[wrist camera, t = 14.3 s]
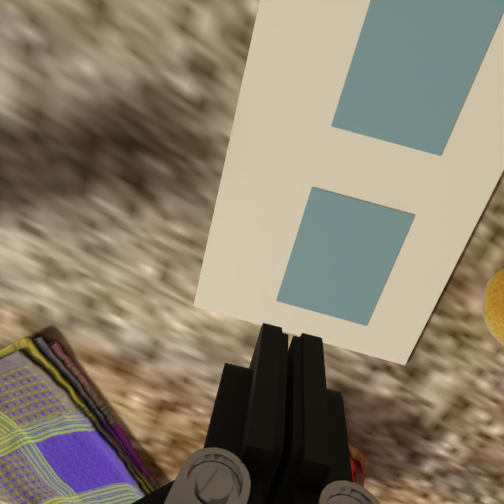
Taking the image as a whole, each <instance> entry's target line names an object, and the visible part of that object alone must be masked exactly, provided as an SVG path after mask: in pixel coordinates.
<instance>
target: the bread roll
mask: <svg viewBox="0 0 504 504" xmlns="http://www.w3.org/2000/svg"><path fill="white" fill-rule="evenodd" d="M483 314H484V321H485V324H486V326H487V328H488V330H489V331H490V333H491V334H492V335H493V336H494V337H495V338H496V339H497V340H498V341H499V342H500V343H501V344H502V345H503V346H504V267H503V268H502V269H500V270H499V271H497V272H496V273H495V274H494V275H492V276H491V277H490V278H489V280H488V281H487V284H486V287H485V291H484V299H483Z"/></svg>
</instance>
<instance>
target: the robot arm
mask: <svg viewBox="0 0 504 504" xmlns="http://www.w3.org/2000/svg"><path fill="white" fill-rule="evenodd" d="M131 504H380V503H379V502H378V500H377V499H376V498H375V497H374V496H373V495H372V494H371V493H370V492H369V491H368V490H367V489H365V488H363V487H362V486H360V485H358V484H356V483H353V477H352V469H351V461H350V453H349V445H348V437H347V429H346V421H345V414H344V406H343V399H342V394H341V393H340V392H337V391H333V390H329V389H326V377H325V365H324V353H323V341H322V338H321V337H317V336H313V335H309V334H305V333H302V334H301V336H300V337H296V336H293V338H292V341H291V344H290V347H289V350H288V334H284V333H282V327H278V326H274V325H270V324H266V323H263V324H262V327H261V330H260V333H259V337H258V340H257V343H256V347H255V350H254V353H253V357H252V360H251V364H250V367H249V369H248V368H244V367H240V366H236V365H232V364H228V363H225V365H224V369H223V373H222V377H221V381H220V385H219V388H218V392H217V396H216V400H215V404H214V408H213V412H212V416H211V420H210V424H209V428H208V432H207V436H206V440H205V444H204V448H203V449H201V450H198V451H195V452H194V453H193V454H191V455H190V456H189V457H188V458H187V459H186V461H185V462H184V463H183V465H182V467H181V469H180V471H179V473H178V475H177V477H176V479H175V480H174V481H172V482H170V483H168V484H167V485H165V486H163V487H161V488H159V489H157V490H155V491H154V492H152V493H150V494H148V495H146V496H144V497H142V498H141V499H139V500H137V501H135V502H133V503H131Z"/></svg>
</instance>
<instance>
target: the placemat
mask: <svg viewBox="0 0 504 504" xmlns="http://www.w3.org/2000/svg"><path fill="white" fill-rule="evenodd" d="M503 170H504V0H260V3H259V8H258V12H257V17H256V21H255V26H254V31H253V35H252V40H251V44H250V49H249V54H248V58H247V63H246V67H245V72H244V77H243V81H242V86H241V90H240V95H239V100H238V104H237V109H236V113H235V118H234V122H233V127H232V132H231V136H230V141H229V145H228V150H227V155H226V159H225V164H224V168H223V173H222V178H221V182H220V187H219V191H218V196H217V201H216V205H215V210H214V214H213V219H212V224H211V228H210V233H209V237H208V242H207V247H206V251H205V256H204V260H203V265H202V269H201V274H200V279H199V283H198V288H197V292H196V297H195V302H194V306H193V307H197V308H201V309H204V310H208V311H211V312H215V313H219V314H222V315H226V316H229V317H233V318H237V319H240V320H244V321H247V322H251V323H255V324H258V325H262V324H263V323H266V324H270V325H274V326H278V327H282V331H283V332H287V333H291V334H294V335H298V336H301V334H302V333H305V334H309V335H313V336H317V337H321V338H322V341H323V343H326V344H330V345H334V346H337V347H341V348H344V349H348V350H352V351H355V352H359V353H362V354H366V355H370V356H373V357H377V358H380V359H384V360H388V361H391V362H395V363H398V364H402V365H405V364H406V362H407V360H408V358H409V356H410V354H411V352H412V350H413V348H414V346H415V344H416V342H417V340H418V338H419V337H420V335H421V333H422V331H423V329H424V327H425V325H426V323H427V321H428V319H429V317H430V315H431V313H432V311H433V309H434V307H435V305H436V303H437V301H438V299H439V297H440V295H441V293H442V291H443V289H444V287H445V285H446V283H447V281H448V279H449V277H450V275H451V273H452V271H453V269H454V267H455V265H456V263H457V261H458V259H459V257H460V255H461V254H462V252H463V250H464V248H465V246H466V244H467V242H468V240H469V238H470V236H471V234H472V232H473V230H474V228H475V226H476V224H477V222H478V220H479V218H480V216H481V214H482V212H483V210H484V208H485V206H486V204H487V202H488V200H489V198H490V196H491V194H492V192H493V190H494V188H495V186H496V184H497V182H498V180H499V178H500V176H501V174H502V172H503Z"/></svg>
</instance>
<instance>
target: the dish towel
mask: <svg viewBox="0 0 504 504" xmlns="http://www.w3.org/2000/svg"><path fill="white" fill-rule="evenodd" d="M157 489H159V487H158V485H157V484H156V482H155V481H154V479H153V478H152V476H151V475H150V473H149V472H148V471H147V469H146V468H145V466H144V464H143V462H142V461H141V459H140V457H139V456H138V454H137V453H136V451H135V449H134V448H133V446H132V445H131V443H130V442H129V440H128V439H127V437H126V436H125V434H124V433H123V431H122V430H121V428H120V427H119V426H118V424H117V422H116V421H115V419H114V418H113V416H112V415H111V413H110V412H109V410H108V409H107V408H106V406H105V405H104V404H103V402H102V401H101V399H100V398H99V397H98V395H97V394H96V393H95V391H94V389H93V388H92V387H91V385H90V383H89V382H88V381H87V379H86V378H85V376H84V375H83V373H82V372H81V371H80V370H79V368H78V366H77V365H76V364H75V363H74V362H73V361H72V359H71V357H69V356H68V355H66V354H65V353H64V351H63V350H62V347H61V346H60V344H59V343H58V342H57V341H54V342H51V343H48V344H47V343H46V342H45V341H44V340H43V338H42V337H38V338H34V339H31V338H30V337H24V338H21V339H20V340H18V341H16V342H14V343H13V344H11V345H9V346H7V347H5V348H3V349H1V350H0V491H1V492H2V493H3V495H4V496H5V497H6V498H7V499H8V500H9V502H10V503H11V504H131V503H133V502H135V501H137V500H139V499H141V498H142V497H144V496H146V495H148V494H150V493H152V492H154V491H155V490H157Z"/></svg>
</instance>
